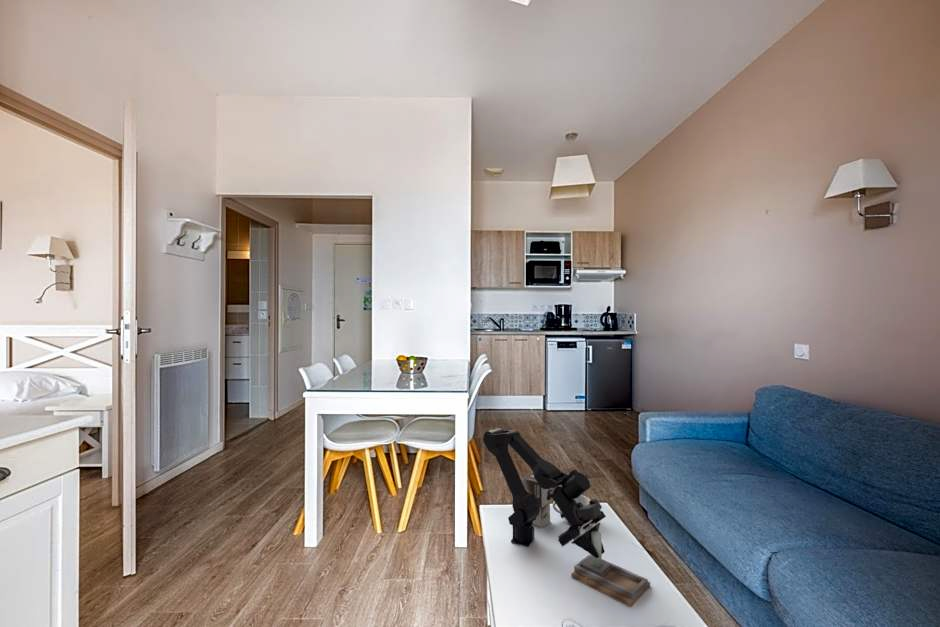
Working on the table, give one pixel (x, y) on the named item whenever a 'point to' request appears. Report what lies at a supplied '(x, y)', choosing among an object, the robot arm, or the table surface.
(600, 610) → the table surface
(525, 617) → the table surface
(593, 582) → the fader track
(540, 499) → the coffee box
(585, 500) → the teacup
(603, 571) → the fader knob
